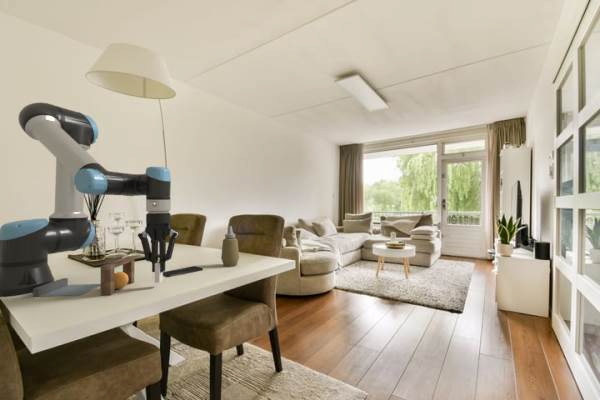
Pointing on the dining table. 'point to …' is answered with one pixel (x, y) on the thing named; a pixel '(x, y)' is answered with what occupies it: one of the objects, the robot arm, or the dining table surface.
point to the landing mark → (72, 290)
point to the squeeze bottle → (230, 249)
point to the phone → (182, 271)
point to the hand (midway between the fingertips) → (158, 281)
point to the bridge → (108, 274)
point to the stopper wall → (50, 287)
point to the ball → (120, 280)
